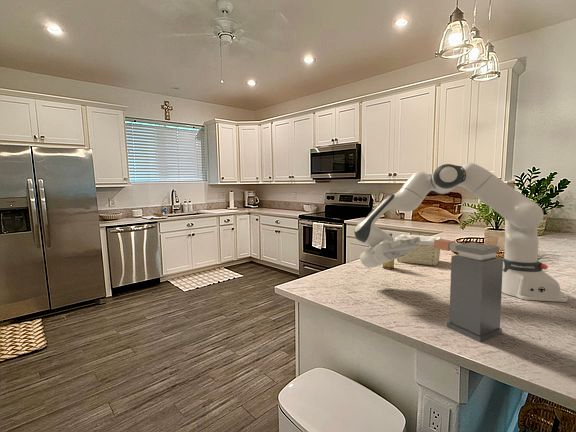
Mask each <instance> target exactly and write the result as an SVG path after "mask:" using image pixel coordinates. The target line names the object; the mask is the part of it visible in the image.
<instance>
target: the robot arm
mask: <svg viewBox="0 0 576 432" xmlns="http://www.w3.org/2000/svg"><path fill="white" fill-rule="evenodd" d="M456 187H461V188H463V189H464V190H465V189H466V190H467V191H468V192H469V193H471V194H472V195H473V196H475V198H477V199H478V200H480V201H481V202H483V203H484V204H485V205H486V206H487V207H489V208H490V209H492V210H493V211H495V212H496V213H497V214H498V215H500V216H501V217H502V218H503V219H504V239H505V240H504V254H503V255H504V256H503V257H502V258H503V273H502V293H503V294H506V295H508V296H512V297H515V298H519V299H521V300H525V301H537V302H538V301H540V302H543V301H544V302H560V303H561V302H562V303H567V302H568V301H569V297H568V296H567V294H565V293H564V292H562V291H561V290H562V289H561V286H560V284H559V282H558V280H557V279H555V278H554V277H552V276H551V275H550V274H548V273H547V272H546V271H544V270H547V269H549V268H548V267H549V266H548V265H547V264H545V263H543V262H541V261H540V260H539V259H538V257H539V256H538V255H539V245H540V244H539V236H538V226H539V225H540V224H541V223H542V222H543V219H544V210H543V209H542V207H540V205H538V204H537V203H536V202H534V201H533V200H531V199H530V198H528V197H526V195H524V194H522V193H521V192H520V191H518V190H517V189H515V188H513V187H512V186H510V185H509V184H507V183H506V182H505V181H503V180H502V179H500V178H499V177H497V176H496V175H495V174H493V173H492V172H490V171H489V170H488V169H486V168H484V167H483V166H480V165H479V164H477V163H472V162H468V163H465V164H464V165H455V164H451V163H445V164H441V165H439V166H438V167H437V168H436V169H435V170H434V171H433V173H430V174H429V173H427V172H425V171H415V172H414V173H412V174H411V175H410V176H409V177H408V178H407V180H406V181H404V183H403V184H402V186H401V188H400V189H399V190H398V191H397V192H395V193H393V194H392V193H391V194H388V195H387V196H385V197H384V198H383V199H382V200H381V201H380V202H379V203H378V204H377V205H376V206H375V207H374V208H373V209H372V210H371V211H370V212H369V213H368V215H367V216H365V217H364V218H363V219H362V220H361V221H360V222H358V224H356V226H355V228H354V230H353V232H354V237H355V239H356V240H357V241H359V242H362V243H364V244H365V245H367V246H368V248H367V249H366V250H364V251H363V252H361V254H360V255H359V260H360V262H361V264H362V265H363V266H364V267H366V268H376V267H379V266H381V265H382V264H383V263H386V262H389V261H391V260H394V261H395V260H397V258H398V257H401V256H404V255H406V253H407V252H410V251H412V250H414V249H415V248H417V247H419V242H420V241H421V240H420V238H419V237H416V238H413V239H405V240H402V239H400V240H397V241H395V240H394V239H393V235H392V236H390V235H389V234H388V233H389V232H386V231H385V230H384V229H381V228H380V227H378V226H377V225H376V224H375V223H376V222H377V221H378V220H380V218H381V217H382V216H383V215H384V214H385V213H386V212H387V211H389V210H395V211H401V212H411V211H414V210H415V211H416V210H417V209H418V207H420V205H421V204H422V202H423V201H424V199H425V198H426V197H427V195H428V194H429V193H432V194H437V195H447V194H449V193H451V192H452V191H453V190H454V189H456Z"/></svg>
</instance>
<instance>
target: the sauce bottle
mask: <svg viewBox="0 0 576 432" xmlns="http://www.w3.org/2000/svg"><path fill="white" fill-rule="evenodd" d="M387 233H388V234H389V235H390V236H392V237H393V233H392V232H387ZM381 265H382V268H383V269H386V270H392V269H394V267H395V259H394V260H391V261H389V262H386V263H383V264H381Z"/></svg>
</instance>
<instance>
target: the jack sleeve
mask: <svg viewBox="0 0 576 432" xmlns="http://www.w3.org/2000/svg"><path fill="white" fill-rule="evenodd" d="M503 258H504V257H498V256H496V259H492V260H488V261H483V262H480V261H476V260H471V259H467V258H462V257H458V254H455V255H451V259H450V260H451V262H450V263H451V264H450V287H449V288H450V293H449V321H447V322H446V327H447V328H448V329H451V330H453V331H455V332H457V333H460V334H461V335H464V336H466V337H469V338H471V339H473V340H475V341H477V342H479V343H482V342H484V341H487V340H489V339H492V338H494V337H496V336H498V335H501V334H503V328H501V309H502V293H503V292H502V274H503Z"/></svg>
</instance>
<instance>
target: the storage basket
mask: <svg viewBox="0 0 576 432" xmlns="http://www.w3.org/2000/svg"><path fill="white" fill-rule="evenodd" d="M416 237H419V238H420V240H421V241H420V242H419V247H417V248H415V249H414V250H412V251H410V252H407V253H406V255H404V256H401V257H398V258H396V261H397V262H399V263H408V264H418V265H426V266H436V265H437V264H438V263H439V261H440V256H441V249H436V248H434V240H438V239H443V238H442V236H431V235H415V234H404V233H402V234H399V235H398V236H396V237H395V238H394V241H397V240H400V239H402V240H405V239H413V238H416Z"/></svg>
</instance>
